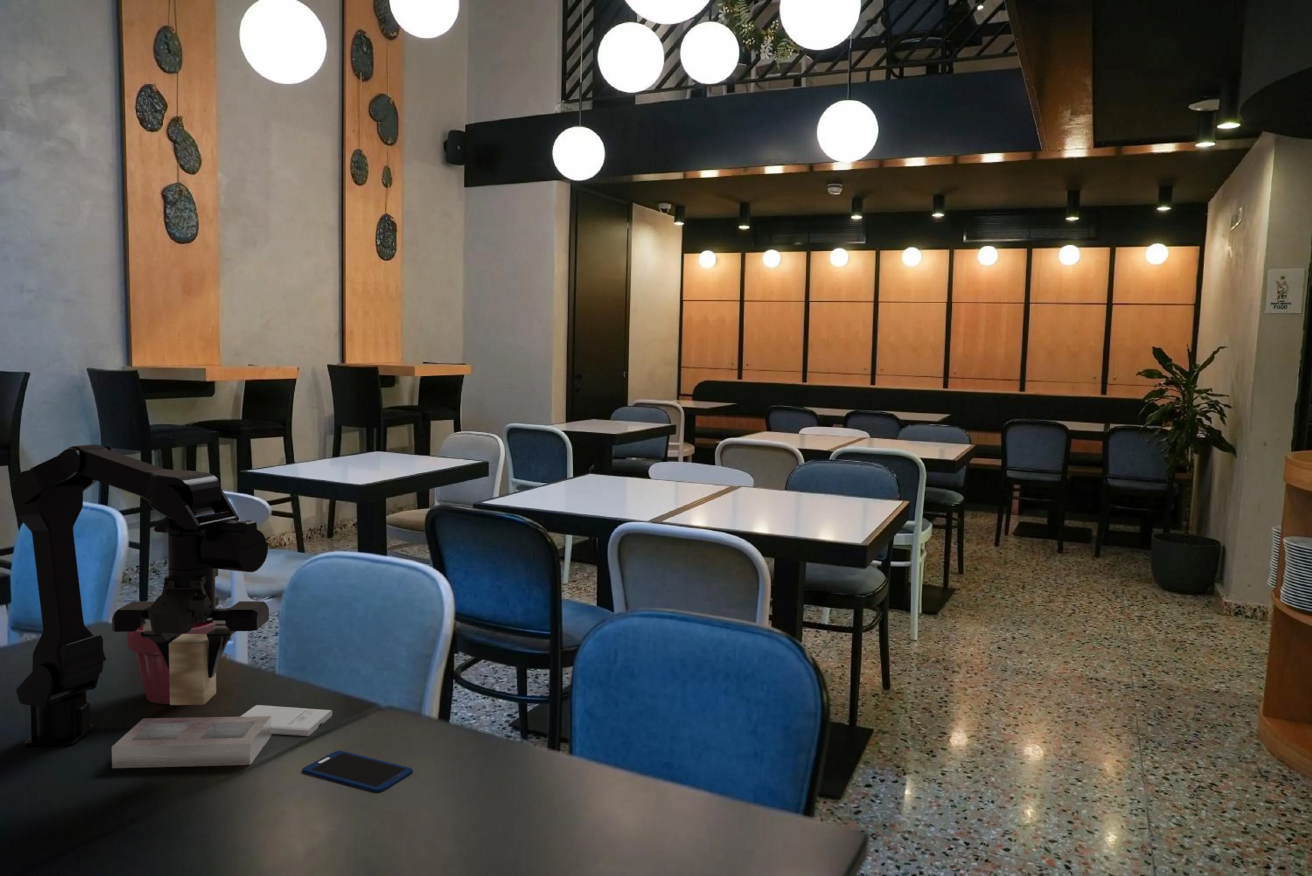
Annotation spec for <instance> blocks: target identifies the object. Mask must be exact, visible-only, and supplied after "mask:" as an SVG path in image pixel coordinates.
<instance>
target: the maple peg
mask: <svg viewBox="0 0 1312 876" xmlns="http://www.w3.org/2000/svg"><path fill="white" fill-rule="evenodd" d="M208 656H209V640H208V638H207V635H206V634H182V635H180V636H179V637H178V638H176V639H175V640H173V641H172V642H170V643H169V680H170V704H169V706H187V705H188V706H193V705H195V706H197V705H198V706H200V705H201V706H202V705H205V704H206V703H208V702H209V701H210V699H212V698H213V697H214V696H215V695H216V694H217V671H216V672H215V675H214V676H213V677H212V678H209V676H208Z"/></svg>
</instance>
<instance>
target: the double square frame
mask: <svg viewBox="0 0 1312 876" xmlns="http://www.w3.org/2000/svg"><path fill="white" fill-rule="evenodd" d="M271 737H272V734H271V716H249V717H240V716H211V717H209V716H208V717H207V716H206V717H156V718H155V717H153V718H151V717H150V718H148V717H147V718H145V717H144V718H142V719H141V720H140V721H139V722H138V723H137V724H135V725H134V726H133V727H132V728H131V729H130V730H129V731H128V732H127V733H125V734H124V735H123V736H122V737H121V738H120V739H119V740H118V741H116V743H115V744H113V745H112V746H111V768H112V769H132V768H134V769H135V768H137V769H138V768H139V769H140V768H167V767H168V768H170V767H171V768H172V767H173V768H174V767H176V768H177V767H178V768H179V767H210V766H211V767H212V766H215V767H216V766H217V767H219V766H246V765H247V766H251V765H252V763H253V762H254V760H255V759H256V758H257V756H258V755H259V753H260V752H261V751H262V749H263V748H264V747H265V745H266V744H267V742H268V741H269V739H270V738H271Z"/></svg>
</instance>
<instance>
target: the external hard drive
mask: <svg viewBox="0 0 1312 876" xmlns="http://www.w3.org/2000/svg"><path fill="white" fill-rule="evenodd" d="M249 716H271V735H286V736H301V737H309V736H310V735H311V734H313V733H314V732H315V731H316V730H317V729H318V728H319V727H320V726H321V725H324V723H325V722H327V721H328V720H329V719H330V718H331V717H333V710H331V709H317V708H304V707H301V708H300V707H290V706H278V705H277V706H275V705H262V704H261V705H260V704H256V705H254V706H252V708H250V709H249V710H247V711H246V712H245V713H243V714H242V715H240V716H239V717H249Z"/></svg>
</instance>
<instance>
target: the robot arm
mask: <svg viewBox="0 0 1312 876" xmlns="http://www.w3.org/2000/svg"><path fill="white" fill-rule="evenodd" d="M96 482H100V483H101V484H105V485H108V486H111V487H114V488H116V489H119V490H122V491H125V492H128V493H130V494H133V495H136V496H139V497H141V498H143V499H145V500H146V501H147V503H148V505H149V506H150V507H151V508H152V509H153V510H154V511H156V512H157V513H159V514H161V515H162V516H165V517H164V518H163V519H162V520H161V521H160V522H159V523H157V525H155V526H154V528H153V531H154V532H155V533H162V534H167V574H168V575H166V576H165V577H164V581H163V588H162V593H161V594H160V595H159V596H157V598H156V599H155V601H143V600H141V601H139V600H138V601H134V600H133V601H131V602H129V603H127V604H125V605H124V606H122V607H120V608H119V609H117V610H115V612H113V615H112V618H111V630H112V632H115V633H124V632H125V633H127V632H135V631H137V630H138V629H139V628H140V627H141V626H142V625H143V632H141V633H140V635H141V636H142V637H147V638H149V639H150V640H152V641H153V642H155V643H156V645H157V647H158V648H159V650H160V651H161V653H162V655H163V658H164V660H165V662H166V664H167V667H168V669H169V643H170V642H172V641H173V640H175V639H176V638H178V637H179V636H180V634H185V633H187V632H189V631H190V630H191V629H192V627H193V624H194V623H213V626H214V629H213V630H211V631H210V632H209V633H207V634H206V635H207V638H208V640H209V656H208V676H209V678H212V677H213V676H214V675H215V672H216V673H217V670H218V667H219V665H220V662H221V660H222V658H223V655H224V651H225V649H226V647H227V644H228V642H229V640H230V638H231V637H232V635H234V634H235V633H236V632H255V631H258V630H259V629H261V627H263V625H265V624H266V623H267V622H268V621H270V608H269V605H268V604H267V603H266V602H265V601H263V600H262V601H261V600H260V601H259V600H258V601H256V600H253V601H251V600H250V601H249V600H247V601H246V600H244V601H243V600H242V601H238V602H236V603H235V604H234V605H232V606H231V607H230V608H216V607H217V606H218V605H219V602H220V601H219V596H216V578H217V577H218V576H219V570H223V571H224V570H225V571H234V572H242V573H255V572H256V571H258V570H259V569H261V568H262V566H263V565H264V564H265V562H266V560H267V556H268V553H269V543H268V542H267V540H266V537H265V535H264V533H263V532H262V531H260V530H259V529H257V527H258V526H257V524H258V523H257V520H251V519H250V520H248V519H246V520H240V517H239V515H238V513H237V512H236V510H235V508H234V507H233V505H232V504H231V502H230V500H229V498H228V497H227V495H226V493H225V492H224V490H223V489H222V487H221V484H220V483H219V479H218V478H217V477H216V476H215V475H214V474H212V473H211V472H203V471H195V470H186V469H185V470H184V469H183V470H180V469H179V470H178V469H168V468H167V469H166V468H163V467H160V466H157V465H155V464H152V463H148V462H145V461H142V460H139V459H137V458H133V457H131V456H128V455H125V454H122V453H119V452H116V451H114V450H111V449H107V448H106V447H105V446H103V445H100V444H97V443H96V444H95V443H94V444H84V445H82V444H81V445H72V446H70V447H68V448H67V449H64V450H63V451H62V452H60V453H59V454H57V455H56V456H55V457H52V458H50V459H47V460H46V461H44V462H41V463H39V464H37V465H35V466H33V467H30V468H29V469H27V470H24V471H21V472H19V474H17V475H16V477H15V478H14V480H12V481H11V486H10V493H11V499H12V501H13V506H14V511H15V514H16V516H17V518H18V519H20V521H21V523H23V525H25V526H26V527H27V529H28V530H29V531H30V532H31V534H32V535H31V537H32V545H33V546H32V547H33V553H34V561H35V562H34V563H35V570H36V571H35V572H36V580H37V581H36V582H37V588H38V590H37V591H38V597H39V598H38V599H39V605H40V612H41V613H40V614H41V623H42V633H41V636H40V638H39V640H38V641H37V644H36V645H35V648H34V650H33V652H32V669H31V670H32V671H31V672H30V674H29V675H28V676H27V677H26V678H25V679H24V680H23V681H22V682H21V683H20V685H18V687H17V688H16V691H15V692H16V696H17V698H18V702H19V704H21V705H25V706H29V709H30V710H29V711H30V712H29V713H30V738H27V740H25V741H24V746H26V747H28V746H32V747H33V746H68V745H73V744H75V743H76V742H77V741H79V740H80V739H81V738H82V737H83V736H85V735H86V734H87V733H88V732H90V731H91V730H92V729H93V728H94V726H93V724H92V723H91V722H92V721H91V703H90V702H89V701H87V692H88V691H90V690H94V689H96V688H97V685H98V683H99V682H98V681H99V678H100V676H101V675H100V674H101V673H102V672H103V669H104V662H106V661H107V658H106V656H105V652H104V637H103V636H102V635H101V634H99V633H98V634H94V633H92V631H91V630H90V629H89V628H88V627H87V626H86V625H85V622H84V613H83V605H82V596H81V595H82V594H81V586H80V578H79V569H78V561H77V551H76V543H75V534H74V526H75V524H76V522H77V521H78V518H79V516H80V514H81V512H82V509H83V507H84V492H85V491H86V490H88V489H89V488H90V487H92V486H93V485H94V484H95V483H96Z"/></svg>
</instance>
